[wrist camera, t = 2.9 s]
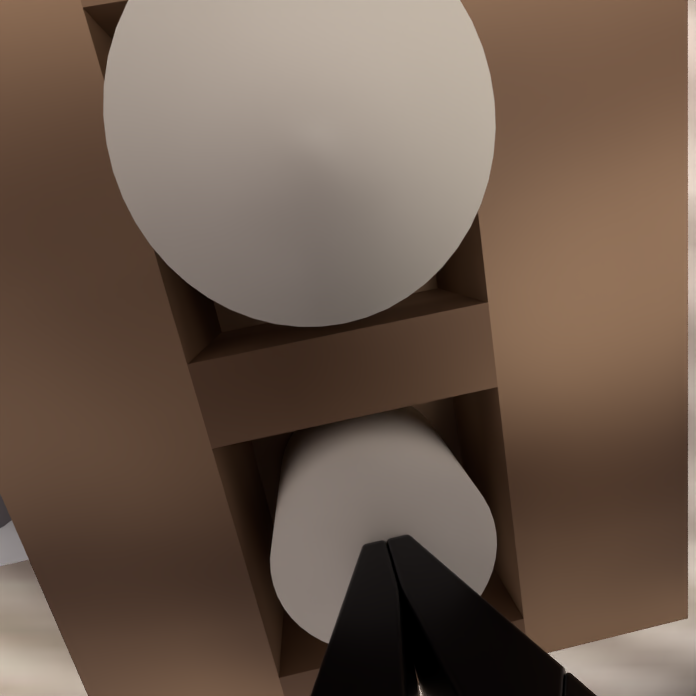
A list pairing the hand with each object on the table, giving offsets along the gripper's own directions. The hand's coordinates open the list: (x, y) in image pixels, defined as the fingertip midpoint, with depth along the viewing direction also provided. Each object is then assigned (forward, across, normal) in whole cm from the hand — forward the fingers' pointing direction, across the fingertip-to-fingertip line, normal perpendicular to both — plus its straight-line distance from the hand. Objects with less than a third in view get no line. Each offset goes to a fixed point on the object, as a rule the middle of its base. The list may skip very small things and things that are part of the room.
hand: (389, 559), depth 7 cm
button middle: (+1, 0, -7) cm, 7 cm away
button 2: (+3, 0, 0) cm, 3 cm away
